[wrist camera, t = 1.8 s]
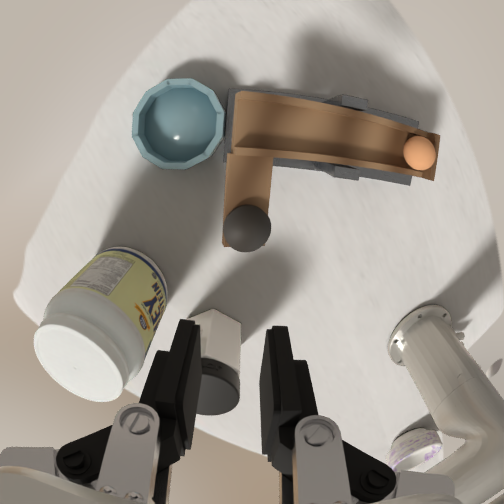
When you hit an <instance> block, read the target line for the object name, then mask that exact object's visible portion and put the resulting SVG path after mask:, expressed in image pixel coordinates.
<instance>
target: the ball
mask: <svg viewBox="0 0 504 504" xmlns="http://www.w3.org/2000/svg"><path fill="white" fill-rule="evenodd" d="M403 154H404V158H405V160H406V162H407V163H408V164H409V165H410V166H411V167H412V168H414V169H416V170H426V169H428V168H430V167H431V166H432V165H433V163H434V161H435V158H436V152H435V148H434V146H433V144H432V143H431V142H430V141H429V140H428V139H427V138H425V137H422V136H414V137H412V138H410V139H409V140H408V141H407V142H406V143H405V145H404V149H403Z"/></svg>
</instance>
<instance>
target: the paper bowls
mask: <svg viewBox="0 0 504 504" xmlns="http://www.w3.org/2000/svg"><path fill="white" fill-rule="evenodd" d="M441 448H442V442H441V440H440V437H439V435H438V433H437V432H436V431H435V430H426V429H424V428H418V429H414V430H411V431H409V432H407V433H405V434H403V435H401V436H400V437H399V438H397V439H396V440H395V441H394V442H393V444H392V445H391V450H390V451H389V452H388V453H387V455H386V461H387V465H388V466H389V467H390V468H392V470H393V471H396V472H399V471H400V470H405V471H408V470H410V469H413V468H415V467H417V466H419V465H421V464H423V463H424V462H426V461H428V460H429V459H430V458H432V457H433V456H434V455H435V454H437V453H438V452H439V451H440V449H441Z"/></svg>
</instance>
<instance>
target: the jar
mask: <svg viewBox="0 0 504 504" xmlns="http://www.w3.org/2000/svg"><path fill="white" fill-rule="evenodd" d="M186 320H194V321H195V324H198V325H200V338H201V368H202V378H201V385H200V392H199V398H198V404H197V411H196V414H200V415H220V414H224V413H227V412H229V411H231V410H232V409H234V408H235V407H236V406H237V404H238V402H239V399H240V379H239V376H240V352H241V323H239V322H237V321H235V320H233V319H232V318H230V317H228V316H226V315H224V314H222V313H221V312H219V311H217V310H215V309H211V310H208V311H206V312H203V313H201V314H198V315H196V316H193V317H191V318H188V319H186Z"/></svg>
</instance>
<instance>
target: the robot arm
mask: <svg viewBox="0 0 504 504" xmlns="http://www.w3.org/2000/svg"><path fill="white" fill-rule="evenodd" d="M451 325H452V320H451V316H450V314H449V313H448V311H447V310H446V309H445V308H443V307H442V306H439V305H428V306H424V307H422V308H419V309H417V310H415V311H414V312H412V313H411V314H409V315H408V316H407V317H405V318H404V319H403V320H402V321H401V322H400V323H399V325H398V326H397V327H396V328H395V330H394V331H393V333H392V335H391V337H390V339H389V343H388V353H389V356H390V358H391V360H392V361H393V362H394V363H395V364H397V365H400V366H406V368H407V370H408V371H409V373H410V375H411V377H412V379H413V381H414V383H415V384H416V386H417V388H418V390H419V392H420V394H421V396H422V398H423V400H424V402H425V404H426V406H427V408H428V410H429V412H430V414H431V416H432V418H433V420H434V422H435V424H436V426H437V427H438V429H439V430H440V431H441V432H442V433H444V434H446V435H448V436H452V437H456V438H463V439H465V440H466V441H465V443H464V444H463V445H462V446H461V447H460V448H459V449H457V451H455V452H454V453H453V454H451V455H450V456H448V457H447V458H445V459H444V460H442V461H441V462H439V463H438V464H436V465H435V466H433V467H432V468H431V469H429V470H427V471H426V472H424V473H421V472H413V471H405V470H400V471H399V472H396V471H393V470H392V468H390V467H389V466H388V465H386V464H384V463H382V462H381V461H379V460H377V459H375V458H373V457H371V456H370V455H368V454H366V453H364V452H362V451H361V450H359V449H357V448H355V447H354V446H352V445H350V444H348V443H347V442H345V441H343V440H342V438H341V433H340V430H339V427H338V425H337V424H336V423H335V422H334V421H333V420H331V419H330V418H327V417H325V416H320V415H318V411H317V406H316V401H315V397H314V392H313V387H312V383H311V378H310V373H309V369H308V364H307V361H306V360H293V354H292V349H291V343H290V337H289V332H288V327H287V326H272V329H267V331H266V338H265V345H264V352H263V359H262V366H261V373H260V383H259V385H260V411H261V437H262V454H268V462H272V466H273V467H274V468H275V469H277V470H278V471H279V504H481V503H483V502H485V501H486V500H488V499H489V498H491V497H492V496H494V495H495V494H497V493H498V492H499V491H501V490H502V489H504V400H503V398H502V397H501V396H500V394H499V393H498V392H497V390H496V389H495V388H494V386H493V385H492V384H491V382H490V381H489V379H488V378H487V376H486V375H485V374H484V372H483V371H482V370H481V368H480V367H479V365H478V364H477V363H476V361H475V360H474V359H473V357H472V356H471V355H470V353H469V352H468V351H467V350H466V348H465V347H464V344H463V342H462V341H461V342H460V341H459V340H463V339H464V337H465V336H464V333H463V332H460V333H456V332H455V331H454V330H453V329H452V328H451ZM201 378H202V368H201V338H200V325H198V324H195V321H194V320H185V319H180V321H179V323H178V327H177V330H176V333H175V336H174V339H173V342H172V345H171V349H170V352H168V351H161V350H158V351H157V352H156V354H155V357H154V360H153V363H152V366H151V369H150V371H149V374H148V377H147V380H146V383H145V386H144V389H143V392H142V395H141V398H140V401H139V403H133V404H129V405H126V406H124V407H122V408H121V409H120V410H119V411H118V412H117V414H116V416H115V419H114V423H113V425H111V426H109V427H106V428H104V429H102V430H99V431H97V432H95V433H92V434H90V435H88V436H85V437H83V438H80V439H78V440H75V441H73V442H70V443H68V444H66V445H64V446H62V447H61V448H60V449H58V450H55V449H54V448H53V447H9V448H6V449H4V450H3V451H2V452H1V454H0V504H169V494H170V483H171V473H172V464H173V463H175V462H177V461H179V460H180V456H184V455H185V449H189V450H190V449H191V445H192V438H193V431H194V424H195V418H196V411H197V404H198V398H199V392H200V385H201ZM489 504H504V494H502V495H501V496H499V497H498V498H496V499H495V500H493V501H492V502H490V503H489Z"/></svg>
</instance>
